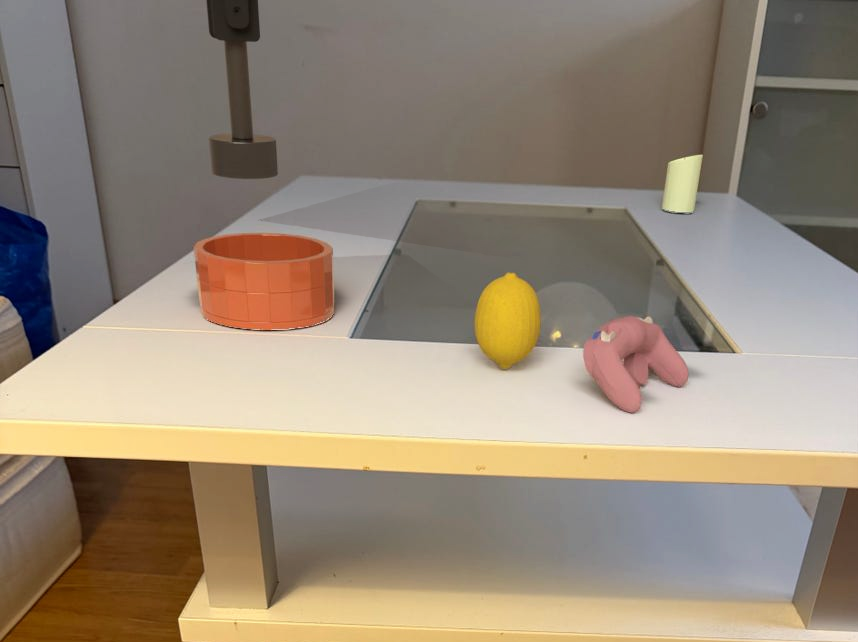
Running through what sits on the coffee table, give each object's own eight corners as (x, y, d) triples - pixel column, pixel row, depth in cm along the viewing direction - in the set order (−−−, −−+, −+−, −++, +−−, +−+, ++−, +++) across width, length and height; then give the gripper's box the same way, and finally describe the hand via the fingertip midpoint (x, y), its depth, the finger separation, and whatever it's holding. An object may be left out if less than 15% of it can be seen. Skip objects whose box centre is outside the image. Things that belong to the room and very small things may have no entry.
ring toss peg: (217, 179, 74) (195, -58, 66) (207, 168, 77) (186, -56, 70) (283, 179, 75) (270, -52, 67) (271, 168, 79) (258, -52, 71)
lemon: (462, 361, 85) (466, 266, 81) (520, 356, 87) (527, 263, 83) (488, 382, 81) (493, 282, 77) (547, 376, 83) (556, 279, 79)
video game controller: (648, 393, 86) (626, 313, 84) (695, 381, 82) (673, 298, 81) (591, 424, 79) (565, 337, 77) (639, 412, 76) (614, 322, 74)
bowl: (212, 334, 88) (205, 265, 85) (192, 298, 98) (185, 234, 94) (349, 327, 92) (347, 260, 89) (316, 292, 102) (314, 231, 99)
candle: (658, 211, 152) (666, 153, 147) (665, 207, 156) (674, 149, 151) (689, 215, 150) (699, 156, 146) (696, 211, 154) (706, 153, 150)
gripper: (136, -289, 66) (170, 32, 76) (158, -346, 54) (195, 44, 64) (248, -273, 69) (266, 36, 79) (294, -324, 56) (309, 49, 67)
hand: (234, 37), depth 71 cm, fingers closed on ring toss peg
